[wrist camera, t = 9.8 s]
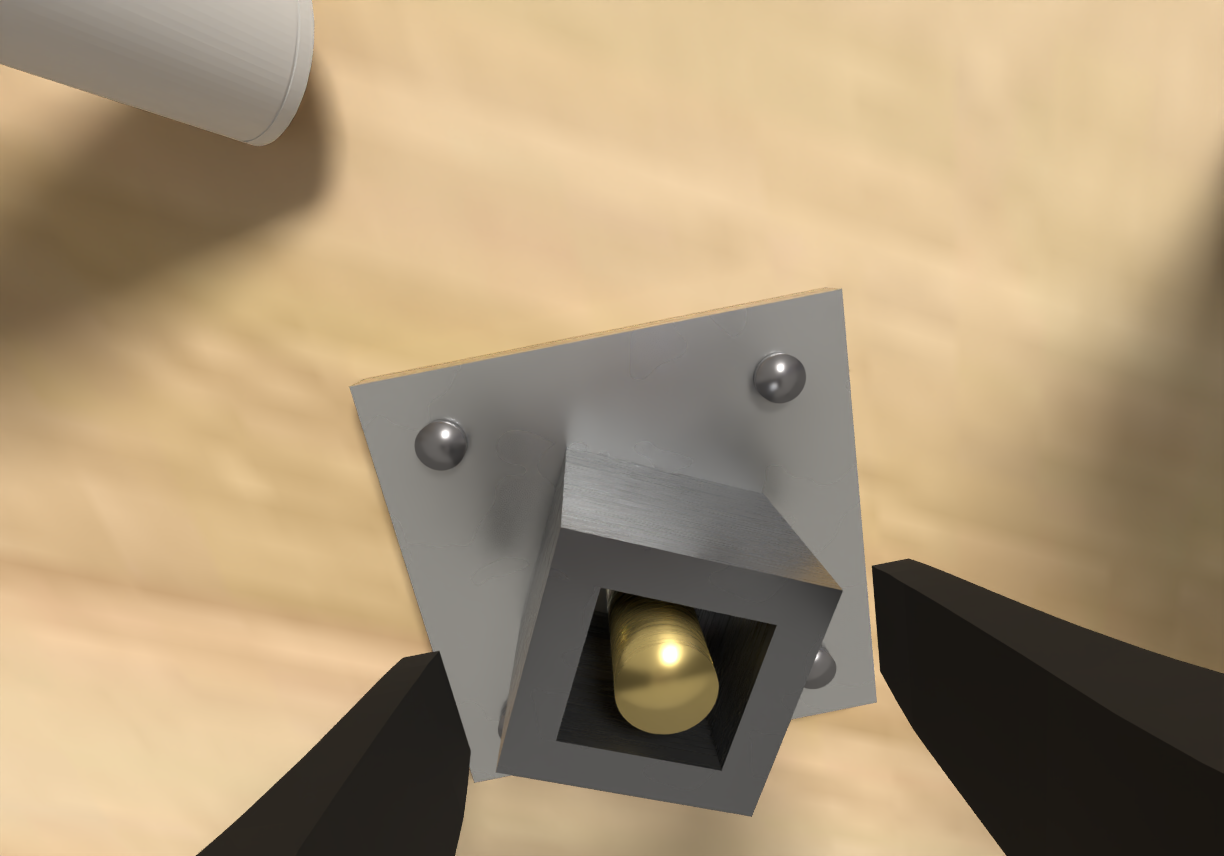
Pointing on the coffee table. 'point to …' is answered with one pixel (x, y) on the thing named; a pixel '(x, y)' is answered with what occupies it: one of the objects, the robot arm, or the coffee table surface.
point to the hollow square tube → (678, 573)
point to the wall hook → (172, 56)
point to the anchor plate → (636, 432)
